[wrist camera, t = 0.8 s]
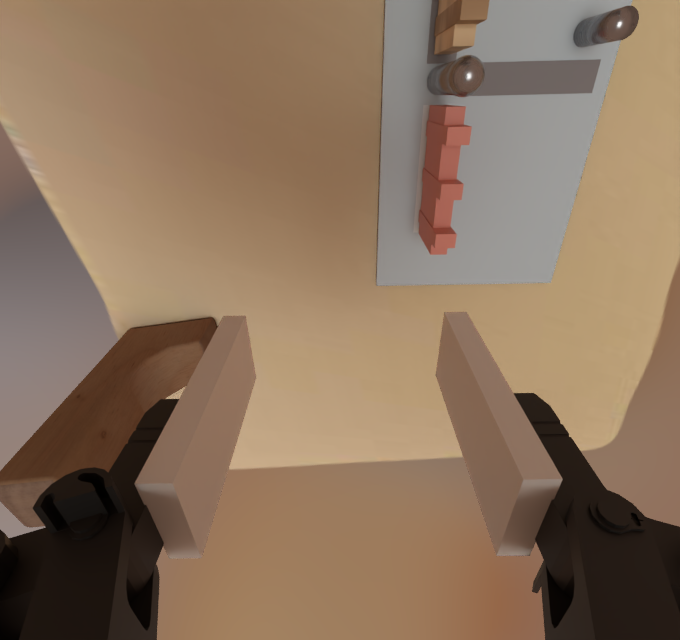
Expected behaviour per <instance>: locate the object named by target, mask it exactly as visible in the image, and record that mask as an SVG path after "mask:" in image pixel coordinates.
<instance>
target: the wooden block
mask: <svg viewBox="0 0 680 640" xmlns="http://www.w3.org/2000/svg"><path fill="white" fill-rule="evenodd" d="M216 329H217V327H216V324H215V321H214V320H213V319H212V318H208V319H201V320H193V321H186V322H179V323H171V324H164V325H156V326H149V327H142V328H134V329H130V330H128V331H127V332H126V333H125V334H124V335H123V336H122V338H121V339H120V340H119V341H118V342H117V343H116V344H115V345H114V346H113V348H112V349H111V350H110V351H109V352H108V353H107V354H106V355H105V356H104V358H103V359H102V360H101V361H100V362H99V363H98V364H97V365H96V366H95V367H94V368H93V370H92V371H91V372H90V373H89V374H88V375H87V376H86V377H85V378H84V379H83V381H82V382H81V383H80V384H79V385H78V386H77V387H76V388H75V390H73V392H72V393H71V394H70V395H69V396H68V397H67V398H66V399H65V400H64V401H63V403H62V404H61V405H60V406H59V407H58V408H57V409H56V410H55V411H54V413H53V414H52V415H51V416H50V417H49V418H48V419H47V420H46V421H45V422H44V423H43V425H42V426H41V427H40V428H39V429H38V430H37V431H36V433H34V435H33V436H32V437H31V438H30V439H29V440H28V441H27V442H26V443H25V444H24V446H23V447H22V448H21V449H20V450H19V451H18V452H17V453H16V454H15V456H14V457H13V458H12V459H11V460H10V461H9V462H8V463H7V464H6V465H5V466H4V468H3V469H2V470H1V471H0V501H1V502H2V503H3V504H4V506H5V507H6V508H7V509H9V511H10V512H12V514H13V515H15V516H16V518H18V520H19V521H20V522H22V523H23V524H24V525H25V526H27V527H39V526H45V525H44V524H43V522H42V521H41V520H40V518H39V517H38V515H37V514H36V513H35V511H34V510H33V509H32V508H33V506H34V505H35V503H36V501H37V499H38V498H39V496H40V495H41V494H42V493H43V492H44V491H45V490H46V489H47V488H48V487H49V486H50V485H51V484H52V483H54V482H55V481H57V480H59V479H60V478H62V477H63V476H65V475H67V474H69V473H72V472H74V471H77V470H79V469H84V468H92V467H96V468H100V469H105V470H106V471H107V472H109V470H110V469H111V467H112V465H113V464H114V462H115V461H116V459H117V457H118V456H119V454H120V453H121V451H122V449H123V448H124V446H125V444H128V440H129V438H130V436H131V435H132V433H133V431H136V427H137V425H138V423H139V422H140V420H141V419H142V417H143V415H144V414H145V412H146V411H148V410H149V409H150V408H151V407H152V406H153V405H155V404H156V403H157V402H158V401H159V400H160V399H165V398H166V397H168V396H170V395H171V394H173V393H175V392H176V391H178V390H180V389H181V388H183V387H185V386H187V384H188V382H189V380H190V378H191V376H192V375H193V373H194V371H195V369H196V367H197V365H198V363H199V361H200V360H201V358H202V356H203V354H204V352H205V350H206V348H207V346H208V345H209V343H210V341H211V339H212V337H213V335H214V333H215V331H216Z"/></svg>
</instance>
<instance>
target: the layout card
mask: <svg viewBox="0 0 680 640" xmlns="http://www.w3.org/2000/svg"><path fill="white" fill-rule="evenodd" d="M631 3H632V0H490V1H489V8H488V15H487V20H485V21H483V22H481V23H479V24H477V26H476V33H475V41H474V46H472V47H470V48H467V49H464V50H462V51H459V52H456V53H453V54H436V55H434V51H435V39H436V36H434V33H435V22H436V17H437V16H438V5H439V0H385V17H384V49H383V82H382V114H381V146H380V179H379V211H378V244H377V276H376V285H377V286H397V285H454V284H512V283H551V280H552V276H553V273H554V269H555V266H556V263H557V259H558V256H559V252H560V249H561V245H562V242H563V238H564V235H565V231H566V228H567V225H568V221H569V218H570V214H571V211H572V207H573V204H574V200H575V197H576V193H577V190H578V187H579V183H580V180H581V176H582V173H583V169H584V166H585V162H586V159H587V155H588V152H589V149H590V145H591V142H592V138H593V135H594V131H595V128H596V124H597V121H598V117H599V114H600V111H601V107H602V104H603V100H604V97H605V93H606V90H607V86H608V83H609V79H610V76H611V73H612V69H613V66H614V62H615V59H616V55H617V52H618V48H619V45H620V41H621V40H619V41H614V42H609V43H604V44H598V45H593V46H588V47H583V48H581V47H578V46H576V45H575V43H574V41H573V34H574V31H575V28H576V27H577V25H578V24H579V23H580V22H581V21H582V20H584V19H586V18H589V17H592V16H596V15H599V14H602V13H605V12H608V11H612V10H615V9H618V8H621V7H624V6H631ZM465 55H474V56H476V57H478V58H479V59H480V60H481V61H482V63H483V65H484V68H485V77H484V81H483V83H482V85H481V87H480V88H479V89H478V91H476V92H475V93H474V94H473V95H471V96H468V97H458V96H456V95H434V94H432V93H431V92H430V91H429V89H428V87H427V77H428V74H429V73H430V71H431V70H432V69H433V68H434V67H436V66H439V65H442V64H445V63H449V62H452V61H455V60H457V59H458V58H460V57H462V56H465ZM430 105H455V106H466V110H465V118H464V125H467V126H472V129H471V136H470V143H469V145H461V149H460V156H459V164H458V172H457V179H458V180H459V181H460V182H462V183H463V184H464V186H463V193H462V200H454V203H453V210H452V218H451V228H452V229H453V230H454V231H455V232H456V234H457V236H456V243H455V248H448V249H447V254H446V255H430V253H429V251H428V250H427V248H426V246H425V244H424V242H423V241H422V239H421V237H420V235H419V222H418V220H419V210H421V200H422V188H423V182H422V174H423V168H424V165H425V154H426V142H427V136H426V127H427V121H428V119H429V108H430Z"/></svg>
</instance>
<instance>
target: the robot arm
mask: <svg viewBox="0 0 680 640" xmlns="http://www.w3.org/2000/svg"><path fill="white" fill-rule="evenodd" d="M436 377H437V380H438V383H439V386H440V389H441V392H442V395H443V398H444V401H445V404H446V407H447V410H448V413H449V416H450V419H451V422H452V425H453V428H454V431H455V434H456V437H457V439H458V442H459V445H460V448H461V451H462V454H463V457H464V460H465V463H466V466H467V469H468V472H469V475H470V478H471V481H472V484H473V487H474V490H475V493H476V496H477V499H478V502H479V505H480V508H481V511H482V514H483V517H484V520H485V522H486V526H487V529H488V532H489V534H490V538H491V541H492V543H493V546H494V549H495V552H496V555H497V556H524V555H525V556H530V553H531V551H532V549H533V547H534V544H535V542H536V543H537V545H538V547H539V550H540V552H541V554H542V556H543V559H544V561H543V563H542V565H541V568H540V570H539V572H538V574H537V576H536V578H535V580H534V583H533V590H532V592H535V593H538V591H539V589H540V587H542V602H543V615H544V627H545V640H680V527H678V526H674V525H671V524H667V523H663V522H660V521H656V520H653V519H650V518H647V517H645V516H644V515H643V514H642V513H641V512H640V511H639V510H638V509H637V508H636V507H635V506H634V505H633V504H632V503H631V502H629V501H628V500H626V499H625V498H623V497H622V496H620V495H618V494H616V493H613V492H611V491H608V490H607V489H606V488H605V487H604V486H603V484H602V483H601V481H600V480H599V478H598V477H597V475H596V474H595V472H594V471H593V469H592V468H591V466H590V465H589V463H588V462H587V460H586V459H585V457H584V456H583V455H582V453H581V451H580V450H579V448H578V447H577V445H576V444H575V442H574V441H573V439H572V438H571V437H569V433H568V432H567V430H566V429H565V428H564V426H563V425H562V424H560V420H559V419H558V417H557V416H556V414H555V413H554V411H553V410H552V408H551V407H550V406H549V405H548V404H547V403H546V402H544V401H543V400H542V399H541V398H539V397H538V396H537V395H536V394H534V393H513V392H512V390H511V388H510V387H509V385H508V383H507V381H506V380H505V378H504V376H503V374H502V373H501V371H500V369H499V368H498V366H497V364H496V362H495V361H494V359H493V357H492V355H491V354H490V352H489V350H488V348H487V347H486V345H485V343H484V341H483V340H482V338H481V336H480V335H479V333H478V331H477V329H476V328H475V326H474V324H473V322H472V321H471V319H470V317H469V315H468V314H467V312H444V318H443V326H442V333H441V340H440V347H439V355H438V362H437V369H436ZM255 379H256V374H255V368H254V362H253V356H252V351H251V345H250V339H249V333H248V327H247V322H246V316H223V318H222V320H221V322H220V324H219V326H218V328H217V329H216V331H215V333H214V335H213V337H212V339H211V341H210V343H209V345H208V346H207V348H206V350H205V352H204V354H203V356H202V358H201V360H200V361H199V363H198V365H197V367H196V369H195V371H194V373H193V375H192V376H191V378H190V380H189V382H188V384H187V386H186V388H185V390H184V391H183V393H182V395H181V397H180V399H160V400H159V401H158V402H157V403H156V404H155V405H153V406H152V407H151V408H150V409H149V410H148V411H146V412H145V414H144V415H143V417H142V419H141V420H140V422H139V423H138V425H137V427H136V431H133V433H132V435H131V436H130V438H129V440H128V444H125V446H124V448H123V449H122V451H121V453H120V454H119V456H118V457H117V459H116V461H115V462H114V464H113V465H112V467H111V469H110V470H109V472H107V471H106V470H105V469H100V468H96V467H92V468H84V469H79V470H77V471H74V472H72V473H69V474H67V475H65V476H63V477H62V478H60V479H59V480H57V481H55V482H54V483H52V484H51V485H50V486H49V487H48V488H47V489H46V490H45V491H44V492H43V493H42V494H41V495H40V496H39V498H38V499H37V501H36V503H35V505H34V506H33V508H32V509H33V510H34V511H35V513H36V514H37V515H38V517H39V518H40V520H41V521H42V522H43V524H44V525H45V527H46V528H43V529H39V530H36V531H33V532H30V533H26V534H23V535H19V536H16V537H13V538H8V537H7V536H6V534H5V533H3V532H2V531H1V530H0V640H157V620H158V619H157V618H158V597H159V572H158V567H157V565H156V562H157V560H158V557H159V555H160V552H161V549H162V547H163V546H164V548H165V550H166V553H167V555H168V557H169V558H202V555H203V552H204V548H205V545H206V542H207V538H208V535H209V531H210V528H211V525H212V522H213V518H214V515H215V512H216V508H217V505H218V502H219V499H220V495H221V492H222V489H223V485H224V482H225V479H226V475H227V472H228V469H229V466H230V462H231V459H232V456H233V452H234V449H235V446H236V442H237V439H238V436H239V432H240V429H241V426H242V423H243V419H244V416H245V413H246V409H247V406H248V403H249V399H250V396H251V393H252V389H253V386H254V383H255Z"/></svg>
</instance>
